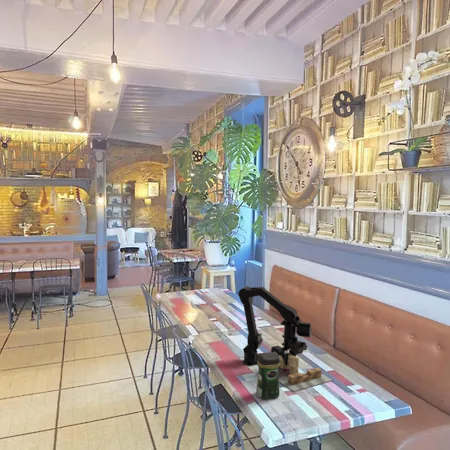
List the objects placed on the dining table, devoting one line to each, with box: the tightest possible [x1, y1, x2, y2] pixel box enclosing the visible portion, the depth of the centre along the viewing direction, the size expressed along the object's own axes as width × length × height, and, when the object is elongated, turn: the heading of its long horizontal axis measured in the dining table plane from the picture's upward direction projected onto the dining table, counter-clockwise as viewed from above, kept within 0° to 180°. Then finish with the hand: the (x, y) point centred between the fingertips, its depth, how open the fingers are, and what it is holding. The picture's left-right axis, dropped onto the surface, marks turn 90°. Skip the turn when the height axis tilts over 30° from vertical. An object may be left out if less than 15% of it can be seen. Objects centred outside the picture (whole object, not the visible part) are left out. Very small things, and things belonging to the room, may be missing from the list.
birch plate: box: [279, 352, 300, 375], centre depth 185 cm, size 3×11×8 cm, turn 30°
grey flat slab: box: [278, 367, 334, 393], centre depth 175 cm, size 24×12×4 cm, turn 120°
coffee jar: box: [255, 351, 280, 400], centre depth 160 cm, size 10×8×19 cm
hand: (288, 364), depth 185 cm, fingers closed on birch plate, 3 cm apart
